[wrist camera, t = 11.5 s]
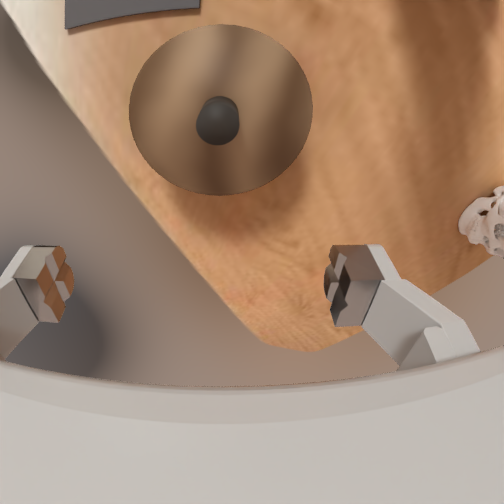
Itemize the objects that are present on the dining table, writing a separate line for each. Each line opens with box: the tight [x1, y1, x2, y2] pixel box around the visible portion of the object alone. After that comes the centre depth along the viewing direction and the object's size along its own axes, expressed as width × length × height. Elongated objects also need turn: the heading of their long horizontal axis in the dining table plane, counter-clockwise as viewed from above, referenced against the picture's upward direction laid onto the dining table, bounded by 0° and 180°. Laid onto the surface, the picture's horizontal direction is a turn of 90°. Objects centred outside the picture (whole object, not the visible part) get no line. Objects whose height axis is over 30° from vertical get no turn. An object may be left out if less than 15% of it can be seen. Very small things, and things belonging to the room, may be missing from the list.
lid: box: [129, 24, 313, 196], centre depth 24 cm, size 16×16×5 cm
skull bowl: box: [458, 186, 504, 259], centre depth 38 cm, size 10×14×12 cm
